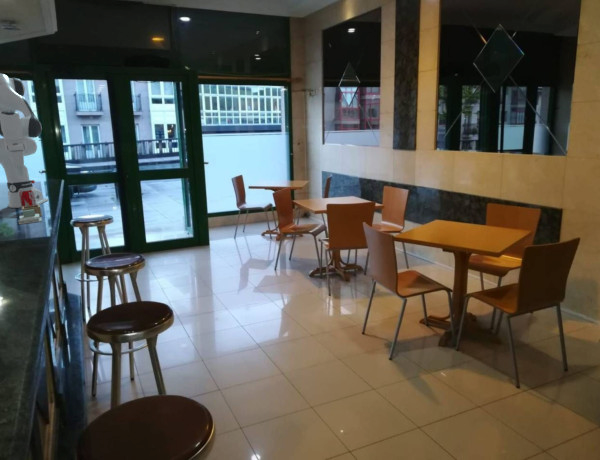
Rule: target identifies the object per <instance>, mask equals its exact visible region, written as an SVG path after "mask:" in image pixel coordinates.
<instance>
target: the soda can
mask: <svg viewBox="0 0 600 460" xmlns="http://www.w3.org/2000/svg"><path fill="white" fill-rule="evenodd" d="M19 197H20V202H21V207H20V208H22V207H23V206H31V205H36V201H35V196H34V192H33V191H32V189H23V190H20V193H19Z"/></svg>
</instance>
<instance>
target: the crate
mask: <svg viewBox="0 0 600 460" xmlns="http://www.w3.org/2000/svg"><path fill="white" fill-rule="evenodd" d="M32 209H34V212H35V214H39V216H40V217H41V218H42V216H43V215H42V211H41V210H42V209H41V204H39V205H31V206H23V207H21V211H22V212H23V211H25V210H32Z"/></svg>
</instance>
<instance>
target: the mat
mask: <svg viewBox="0 0 600 460" xmlns="http://www.w3.org/2000/svg"><path fill="white" fill-rule="evenodd" d="M17 221H18V225H25V224H31V223H39V222H43V219H42V216H41V217H40V219H37V220H36V221H29V222H24V221H20V219H18V220H17Z"/></svg>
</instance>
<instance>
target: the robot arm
mask: <svg viewBox="0 0 600 460" xmlns="http://www.w3.org/2000/svg"><path fill="white" fill-rule="evenodd" d="M25 92H26V87H25V85H24V83H23V82H22V80H21V79H20V78H16V77H9V76H8V75H6V74H4V73H1V72H0V136H1V137H2V138H0V165H1V166H2V168H3V169H4V170H3V171H4V174H5V176H6V181H7V183H6V187H7V189H8V191H7V198H8V204H7V207H9V208H12V209H15V208H18V209H19V208H22V207H21V202H20V197H19V193H20V190H23V189H32V191H33V192H34V196H35V201H36V205H41V204H44V203H46V202H48V201H49V199H48V198H44V194H43V192H42V191H41V190H39V189H38V188H36V187H35V186H34V185H35V184H36V181H35V180H34V179H33V180H32V179H30V175H29V172H28V169H29V168H27V166H26V165H25V160H24V159H25V157H28V156H31V155H34V154H36V152H37V150H38V145H37V142H36V140H35V139H34V138H37V137H39V136H41V134H42V133H43V131H42V130H43V128H42V123H41V121H39V118H38V117H37V116H36V114H35V113H34V110H33V109H32V107H31V106H30V104H29V102H28V101H27V99H26V98H25V97H24V96H25ZM19 112H20V113H22V114H23V116H24V117H21V116H20V113H19ZM33 184H34V185H33Z"/></svg>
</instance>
